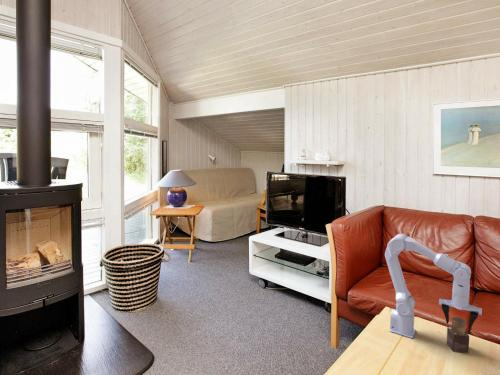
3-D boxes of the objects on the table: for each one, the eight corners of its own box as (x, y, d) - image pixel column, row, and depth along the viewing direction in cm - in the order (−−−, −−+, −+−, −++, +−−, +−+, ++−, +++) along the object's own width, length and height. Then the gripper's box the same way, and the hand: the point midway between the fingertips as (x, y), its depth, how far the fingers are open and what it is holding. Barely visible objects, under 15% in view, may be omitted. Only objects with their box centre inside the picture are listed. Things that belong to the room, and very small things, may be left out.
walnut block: (451, 331, 129) (451, 320, 128) (452, 327, 132) (453, 315, 132) (464, 335, 126) (465, 323, 125) (465, 330, 129) (466, 319, 129)
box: (468, 353, 126) (469, 336, 125) (452, 351, 127) (453, 334, 127) (461, 344, 132) (462, 328, 131) (446, 342, 133) (447, 326, 133)
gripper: (438, 292, 129) (436, 324, 130) (482, 302, 120) (480, 336, 121) (440, 286, 134) (439, 317, 136) (482, 295, 125) (480, 328, 127)
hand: (458, 325), depth 129 cm, fingers open, 7 cm apart
